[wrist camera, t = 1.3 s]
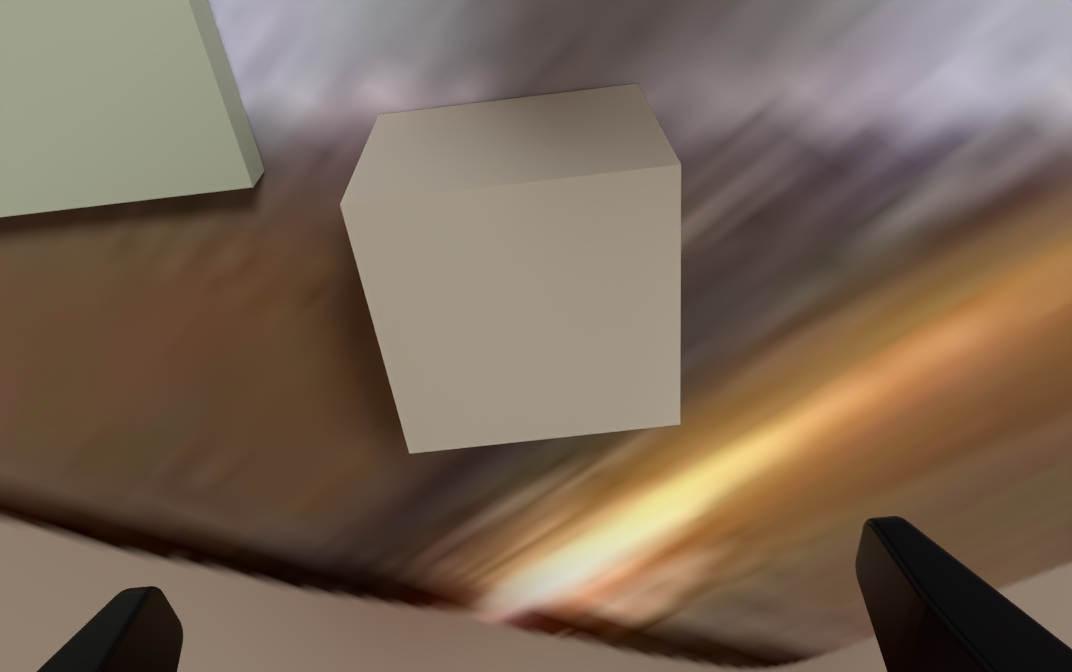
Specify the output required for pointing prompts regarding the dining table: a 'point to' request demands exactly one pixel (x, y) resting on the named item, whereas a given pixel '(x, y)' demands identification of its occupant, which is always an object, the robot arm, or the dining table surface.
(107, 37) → the stub plate
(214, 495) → the dining table surface
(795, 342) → the dining table surface
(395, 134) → the block
